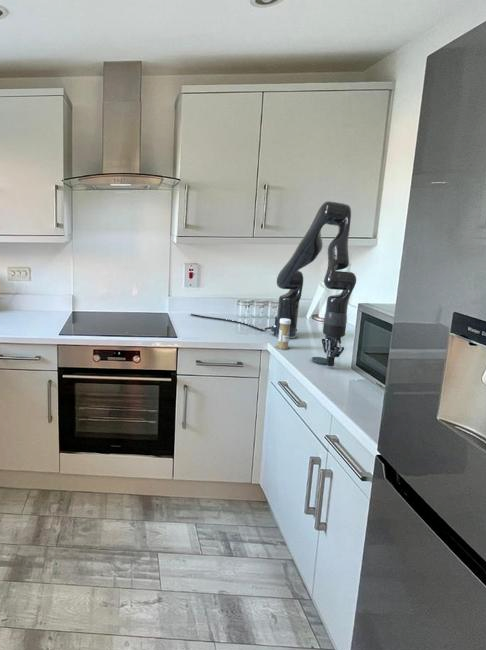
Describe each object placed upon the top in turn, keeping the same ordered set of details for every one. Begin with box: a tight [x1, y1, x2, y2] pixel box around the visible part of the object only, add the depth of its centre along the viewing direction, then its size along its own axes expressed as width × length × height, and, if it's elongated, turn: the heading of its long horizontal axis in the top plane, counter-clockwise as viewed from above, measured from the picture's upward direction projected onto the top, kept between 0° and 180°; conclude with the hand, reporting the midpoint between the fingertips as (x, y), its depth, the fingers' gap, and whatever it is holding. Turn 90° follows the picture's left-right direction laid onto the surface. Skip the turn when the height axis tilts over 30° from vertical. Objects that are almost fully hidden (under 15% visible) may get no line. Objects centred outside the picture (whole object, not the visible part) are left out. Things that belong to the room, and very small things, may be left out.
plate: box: [311, 356, 327, 366], centre depth 171 cm, size 7×7×1 cm
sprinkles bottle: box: [277, 318, 291, 350], centre depth 188 cm, size 5×5×14 cm
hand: (329, 365), depth 164 cm, fingers closed
